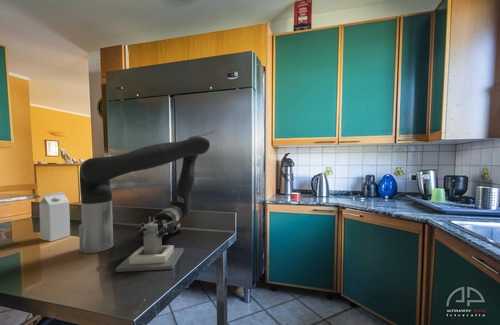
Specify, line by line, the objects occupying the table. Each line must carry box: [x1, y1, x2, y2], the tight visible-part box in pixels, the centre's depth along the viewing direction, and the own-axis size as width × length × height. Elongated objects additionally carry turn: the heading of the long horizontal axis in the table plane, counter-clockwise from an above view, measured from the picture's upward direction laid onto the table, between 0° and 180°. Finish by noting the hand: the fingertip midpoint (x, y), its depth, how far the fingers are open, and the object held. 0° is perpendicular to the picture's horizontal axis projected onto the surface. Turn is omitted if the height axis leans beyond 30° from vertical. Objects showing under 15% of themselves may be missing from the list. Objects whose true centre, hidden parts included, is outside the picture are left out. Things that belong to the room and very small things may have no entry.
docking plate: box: [115, 244, 184, 273], centre depth 70 cm, size 16×13×3 cm
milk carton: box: [38, 191, 71, 242], centre depth 93 cm, size 7×7×19 cm
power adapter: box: [142, 216, 163, 255], centre depth 70 cm, size 3×5×12 cm, turn 64°
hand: (149, 235), depth 68 cm, fingers closed on power adapter, 5 cm apart
